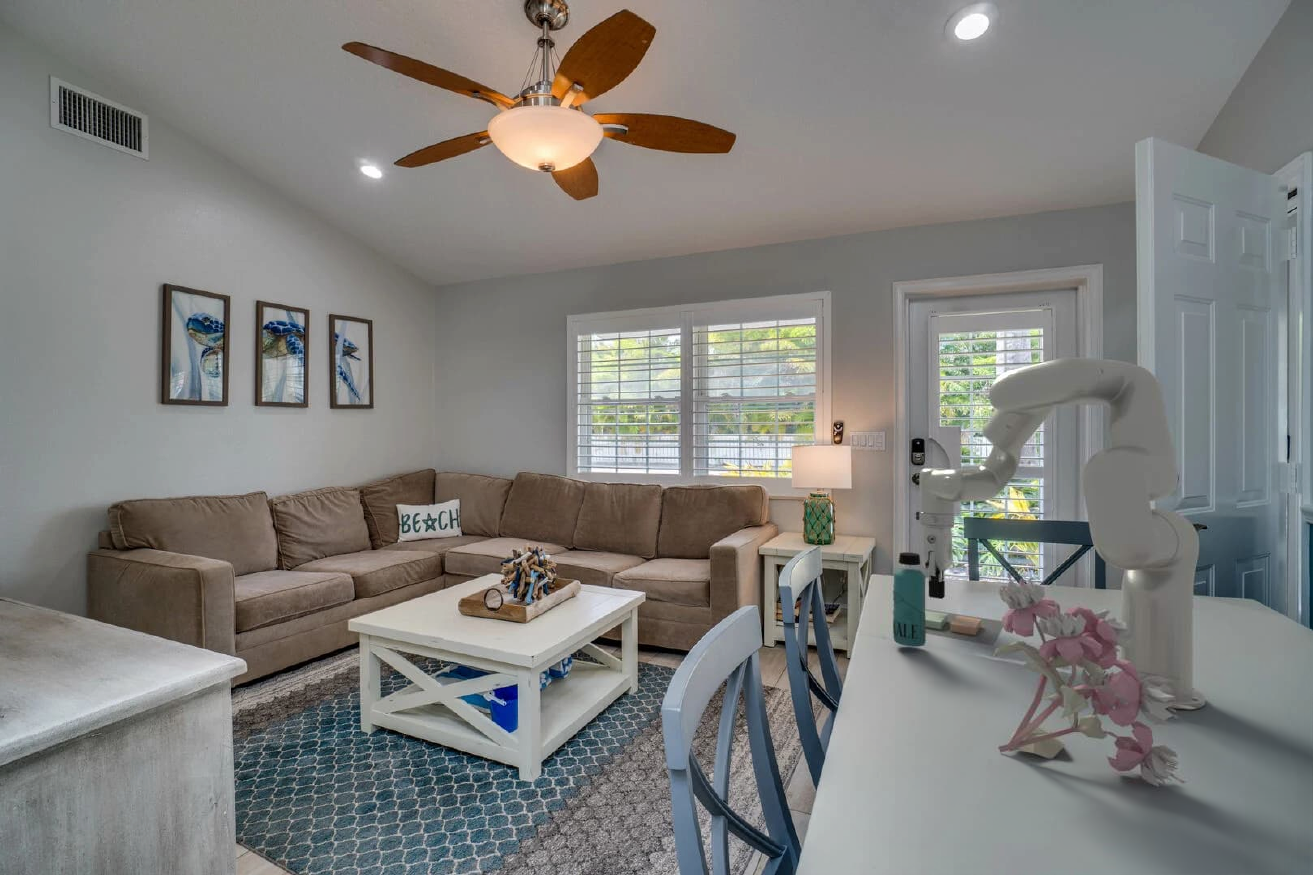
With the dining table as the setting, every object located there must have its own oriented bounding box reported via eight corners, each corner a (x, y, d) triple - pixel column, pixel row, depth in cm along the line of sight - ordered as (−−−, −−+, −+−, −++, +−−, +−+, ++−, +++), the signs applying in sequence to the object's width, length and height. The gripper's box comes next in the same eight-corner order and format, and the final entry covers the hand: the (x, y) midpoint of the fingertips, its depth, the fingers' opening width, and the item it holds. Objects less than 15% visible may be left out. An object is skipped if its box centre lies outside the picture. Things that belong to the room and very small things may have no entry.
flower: (1072, 818, 69) (1165, 616, 70) (930, 712, 91) (1002, 558, 91) (1180, 860, 75) (1265, 673, 76) (1023, 750, 96) (1090, 606, 97)
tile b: (947, 621, 146) (940, 630, 139) (925, 617, 148) (917, 626, 142) (947, 613, 146) (940, 622, 139) (925, 610, 148) (917, 618, 142)
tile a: (981, 626, 141) (975, 636, 135) (957, 623, 144) (950, 631, 138) (981, 619, 141) (975, 627, 135) (957, 615, 144) (950, 623, 138)
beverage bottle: (920, 644, 132) (920, 550, 132) (931, 655, 125) (931, 556, 125) (888, 643, 132) (888, 549, 132) (897, 654, 126) (897, 555, 126)
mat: (993, 647, 129) (993, 644, 129) (894, 630, 141) (894, 627, 141) (1005, 624, 146) (1005, 621, 146) (915, 610, 157) (915, 607, 157)
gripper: (947, 525, 139) (947, 606, 139) (960, 517, 151) (960, 593, 151) (911, 522, 143) (911, 601, 143) (927, 515, 155) (927, 588, 155)
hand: (936, 597), depth 147 cm, fingers closed
